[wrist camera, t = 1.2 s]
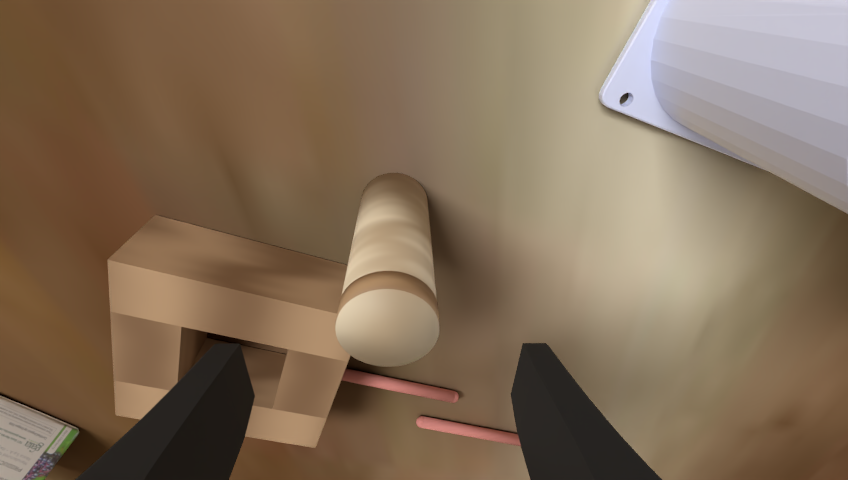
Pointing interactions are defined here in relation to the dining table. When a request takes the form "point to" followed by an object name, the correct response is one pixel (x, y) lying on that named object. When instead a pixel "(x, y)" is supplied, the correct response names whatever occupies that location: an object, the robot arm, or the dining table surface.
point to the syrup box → (30, 441)
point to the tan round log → (390, 277)
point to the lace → (433, 394)
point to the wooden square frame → (226, 322)
